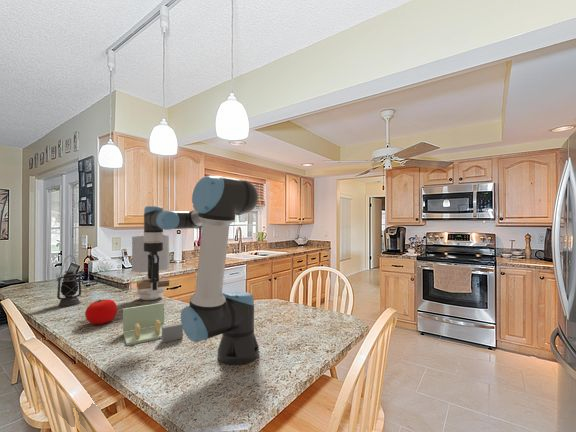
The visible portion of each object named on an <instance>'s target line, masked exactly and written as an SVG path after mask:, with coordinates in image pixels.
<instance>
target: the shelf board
mask: <svg viewBox="0 0 576 432" xmlns="http://www.w3.org/2000/svg"><path fill="white" fill-rule="evenodd" d="M159 278H160V277H159ZM149 281H151V279H150V280H142V279H141V280H136V289H137V288H138V290H140V289H148V288H151V283H149ZM158 287H170V279H168V278H167V277H163V278H160V279H159V281H158Z"/></svg>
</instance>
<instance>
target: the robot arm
mask: <svg viewBox="0 0 576 432" xmlns="http://www.w3.org/2000/svg"><path fill="white" fill-rule="evenodd" d="M191 195H192V196H191V203H192V207H193V210H191V211H190V210H188V211H186V210H185V211H184V210H179V211H178V210H164V208H163V207H162V206H159V205H157V206H155V205H154V206H153V205H152V206H151V205H150V206H148V205H147V206H145V207H144V210H143V236H144V242H145V243H144V251H145V252H149V255H148V272H147V273H148V280H150V279H151V281H149V283H151V288H148V294H151V295H150V298H155V297H158V281H159V278H160V277H159V276H160V271H159V256H158V255H157V252H158V251H162V250H163V243H162V242H161V241H163V237H162V236H164V235H165V234H164V230H165V231H166V230H169V231H171V230H181V229H182V230H183V229H196V230H199V229H201V234H200V242H199V244H200V245H199V254H198V255H199V256H198V263H197V264H198V265H197V274H196V275H197V276H196V284H195V285H196V286H195V293H193V294H192V295H191V296H190V298H189V305H187V306H184V308H183V309H182V310H181V312H180V323H181V324H182V327H183V333H184V334H185V336H186V337H187V339H189V341H191V342H193V343H199V342H202V341H207V340H208V339H211V338H213V337H217V336H219V335H221V339H220V342H219V344H218V349H217V360H218V361H219V362H221V363H223V364H226V365H232V366H233V365H243V364H247V363H251V362H252V361H254V360H257V358H258V357H259V355H260V348H259V343H258V341H257V338H256V335H255V301H254V299H255V298H254V295H253V294H252V293H249V292H247V291H246V292H245V291H237V290H233V291H232V290H229V291H224V292H223V285H224V277H225V268H226V259H227V252H228V251H227V250H228V243H229V242H228V241H229V232H230V226H231V224H233V223H234V222H235V221H236V216H241V215H244V214H247V213H250V212H251V211H253V210H254V209H255V208H256V207H257V205H258V201H259V193H258V190H257V189H256V187H255V185H254V184H252V183H251V182H250V181H248V180H245V179H239V178H231V177H225V176H220V175H206V176H203V177H202V178H200V179H199V181H197V182H196V184H195V186H194V188H193V191H192V194H191ZM155 278H156V279H155Z"/></svg>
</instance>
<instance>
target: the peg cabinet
mask: <svg viewBox="0 0 576 432" xmlns="http://www.w3.org/2000/svg"><path fill="white" fill-rule="evenodd" d="M162 326H166V325H165V303H164V302H157V303H151V304H146V305H138V306H137V305H136V306H132V307H131V306H130V307H126V308H122V334H123V335H122V336H123V338H124V341H125V346H132V345H136V344H140V343H145V342H149V341H155V340H160V339H162ZM159 338H160V339H159Z"/></svg>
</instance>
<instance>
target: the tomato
mask: <svg viewBox="0 0 576 432" xmlns="http://www.w3.org/2000/svg"><path fill="white" fill-rule="evenodd" d="M117 314H118V305H117V303H116V302H115V301H114V300H112V299H98V300H94V301H92V302H90V304H89V305H88V306H87V307H86V309H85V313H84V315H85V316H84V317H85V319H86V320H87V322H89V323H90V324H93V325H103V324H107V323H109V322H111V321H113V320H114V318H115V317H117Z"/></svg>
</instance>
